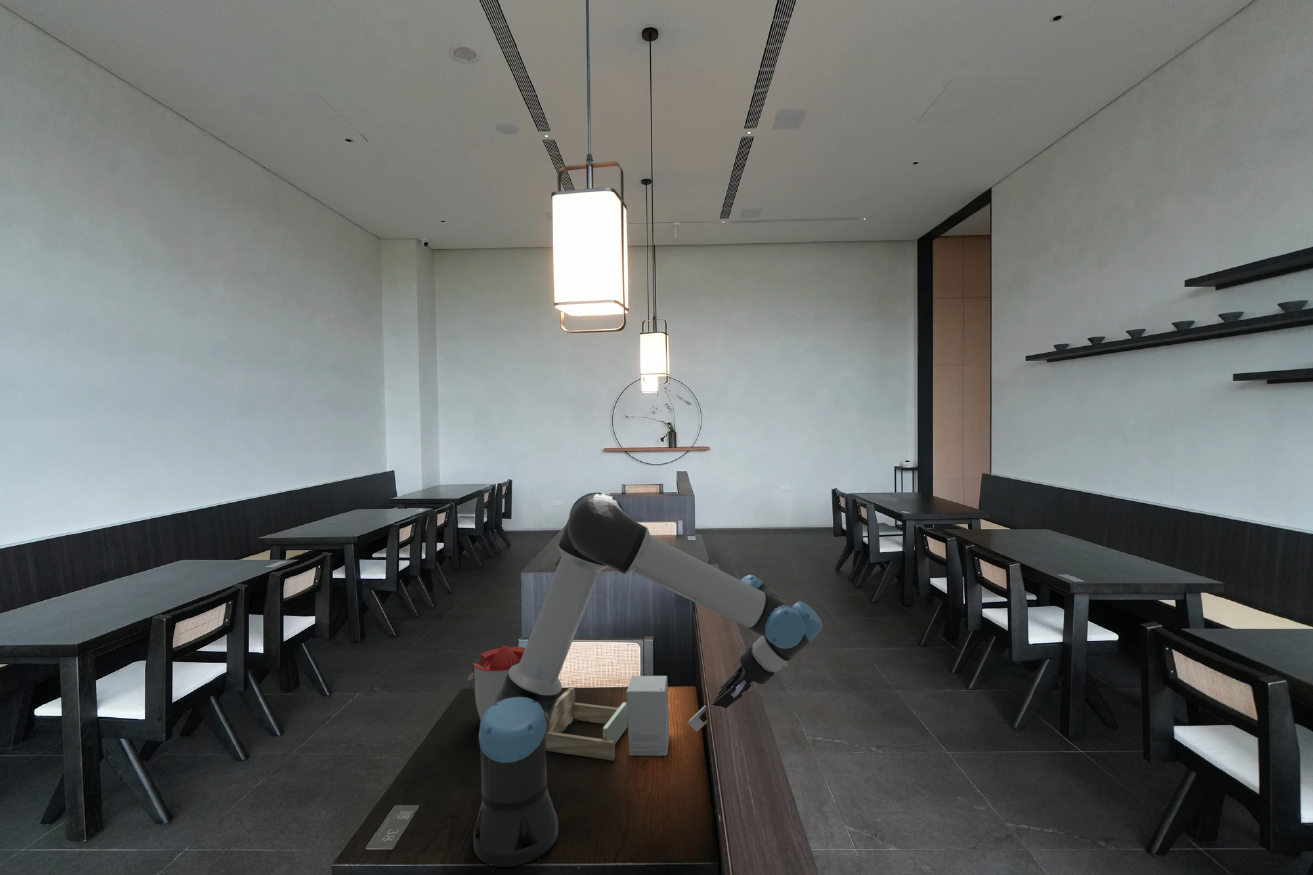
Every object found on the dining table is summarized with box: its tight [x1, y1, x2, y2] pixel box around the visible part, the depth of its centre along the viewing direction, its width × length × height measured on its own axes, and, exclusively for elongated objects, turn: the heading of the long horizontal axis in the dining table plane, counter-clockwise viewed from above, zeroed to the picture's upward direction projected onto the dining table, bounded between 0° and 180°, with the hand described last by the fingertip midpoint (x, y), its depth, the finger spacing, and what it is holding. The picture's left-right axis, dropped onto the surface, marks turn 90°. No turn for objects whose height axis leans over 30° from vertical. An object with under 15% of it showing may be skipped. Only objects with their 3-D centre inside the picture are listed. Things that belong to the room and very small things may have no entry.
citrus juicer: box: [467, 645, 526, 721], centre depth 151 cm, size 16×17×20 cm
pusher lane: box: [546, 686, 628, 761], centre depth 143 cm, size 16×18×8 cm
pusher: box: [602, 701, 628, 745], centre depth 141 cm, size 13×1×6 cm, turn 162°
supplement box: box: [625, 675, 671, 757], centre depth 138 cm, size 9×9×15 cm
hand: (693, 725), depth 135 cm, fingers closed
